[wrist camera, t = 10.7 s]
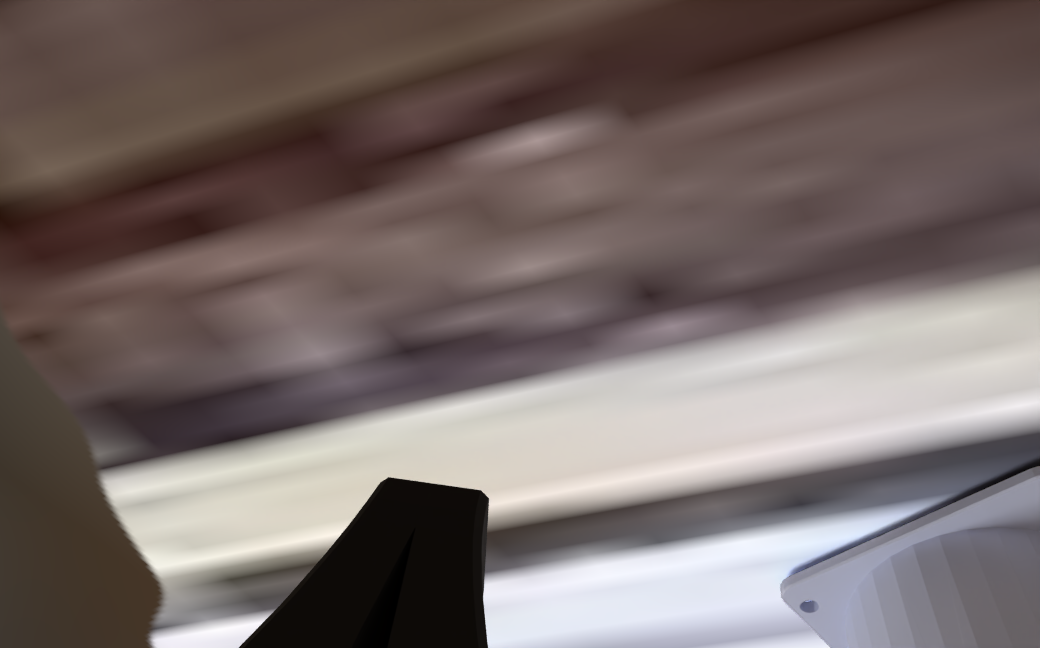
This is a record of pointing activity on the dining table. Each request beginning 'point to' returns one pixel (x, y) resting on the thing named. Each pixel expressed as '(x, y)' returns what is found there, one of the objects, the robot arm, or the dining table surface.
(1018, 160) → the dining table surface
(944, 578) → the robot arm
